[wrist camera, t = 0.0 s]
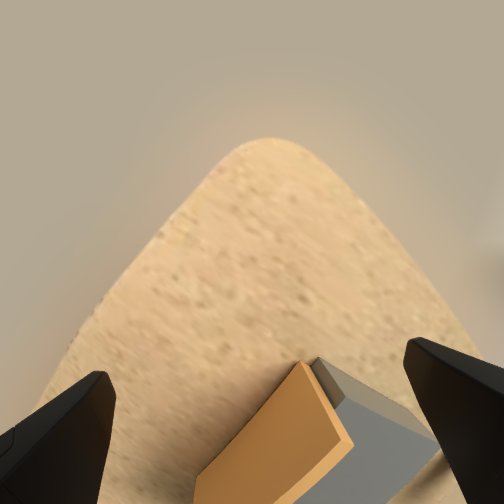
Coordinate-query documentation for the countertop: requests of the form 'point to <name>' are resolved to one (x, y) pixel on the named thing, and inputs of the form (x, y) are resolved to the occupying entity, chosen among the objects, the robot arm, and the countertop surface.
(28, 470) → the robot arm
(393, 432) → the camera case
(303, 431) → the side door
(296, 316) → the countertop surface
